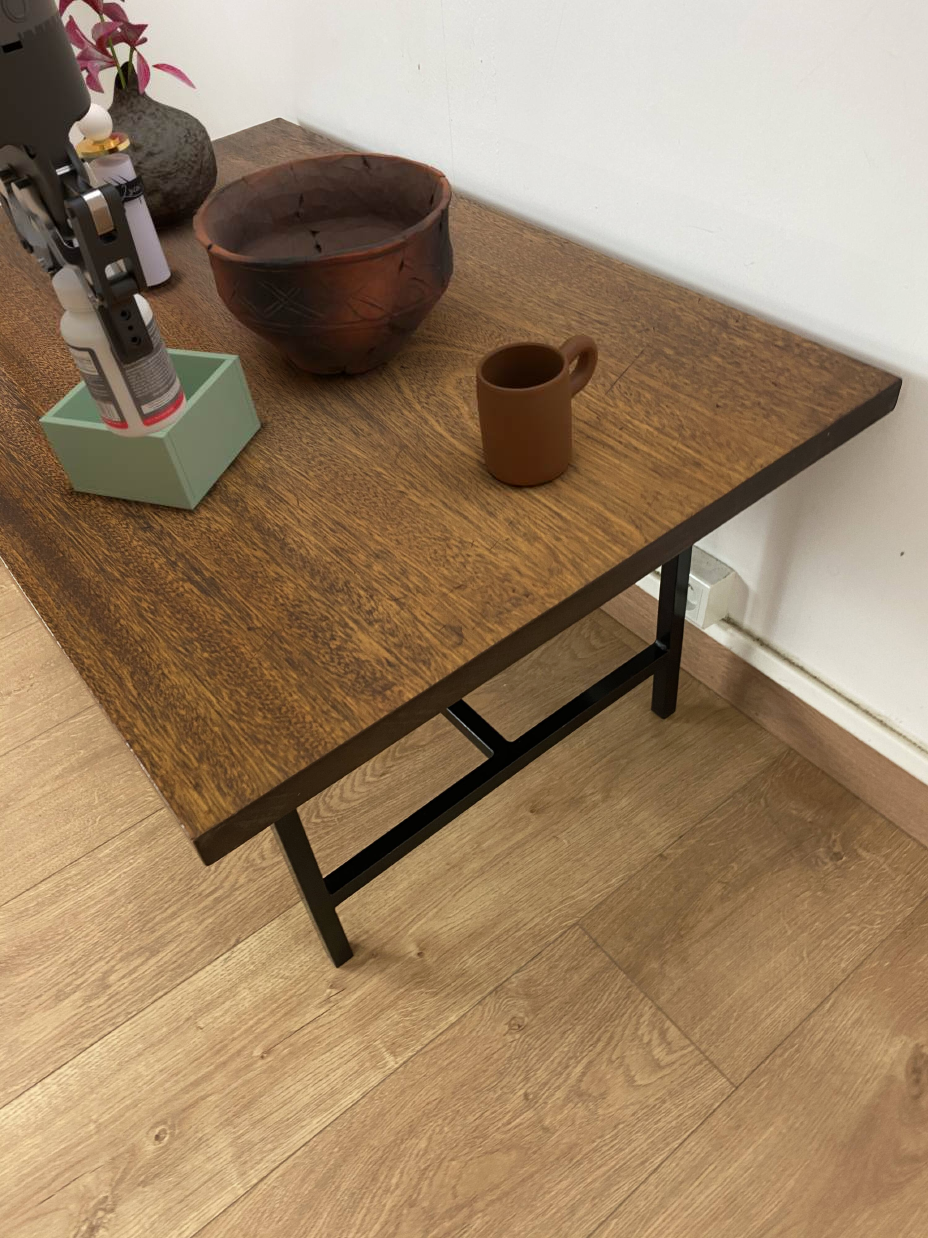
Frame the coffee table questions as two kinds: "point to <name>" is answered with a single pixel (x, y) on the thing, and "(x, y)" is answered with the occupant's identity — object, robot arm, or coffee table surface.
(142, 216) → the perfume bottle
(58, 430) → the bin
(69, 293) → the pill bottle
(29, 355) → the coffee table surface
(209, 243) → the bowl
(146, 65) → the vase
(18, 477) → the coffee table surface
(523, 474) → the mug
